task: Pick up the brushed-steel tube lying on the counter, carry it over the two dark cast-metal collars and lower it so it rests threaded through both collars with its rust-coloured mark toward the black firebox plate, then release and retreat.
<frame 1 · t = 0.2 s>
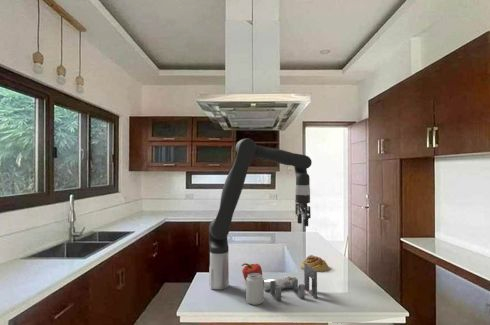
hand: (302, 224, 183), 28 cm above the worktop, fingers open, 8 cm apart
can: (254, 302, 154), on the worktop
vegetable: (251, 282, 179), on the worktop
collar 2: (298, 295, 162), on the worktop
pastry: (315, 269, 202), on the worktop
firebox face: (310, 293, 163), on the worktop
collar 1: (275, 297, 159), on the worktop
tube: (280, 289, 170), on the worktop
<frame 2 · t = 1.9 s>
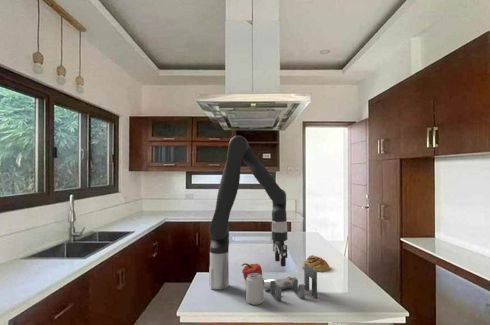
hand: (280, 263, 170), 12 cm above the worktop, fingers open, 8 cm apart
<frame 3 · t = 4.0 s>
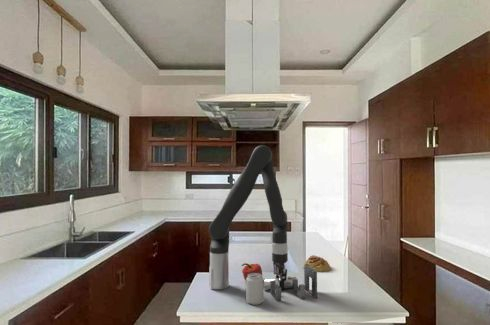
hand: (280, 286, 170), 1 cm above the worktop, fingers closed on tube, 5 cm apart
tube: (280, 288, 170), on the worktop, touching gripper
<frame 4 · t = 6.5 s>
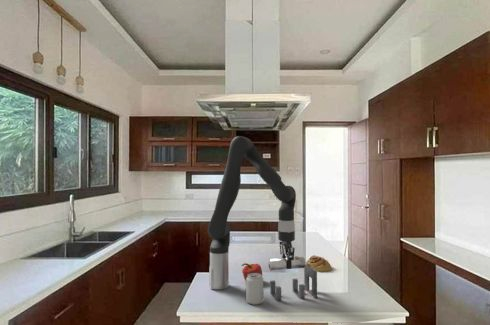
hand: (286, 266, 160), 13 cm above the worktop, fingers closed on tube, 5 cm apart
tube: (286, 269, 161), point 12 cm above the worktop, touching gripper
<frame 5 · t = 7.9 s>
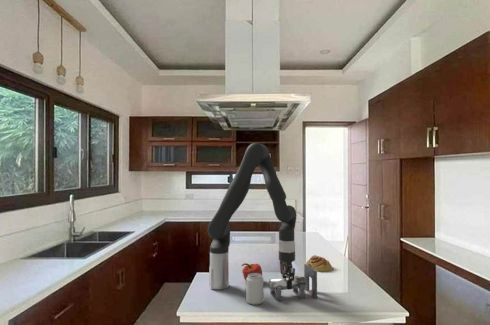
hand: (287, 286, 160), 4 cm above the worktop, fingers closed on tube, 5 cm apart
tube: (287, 289, 161), point 3 cm above the worktop, touching gripper
when the fingers open (3 cm above the worktop, at t = 9.0 s): tube drops 1 cm, resting on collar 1, collar 2.
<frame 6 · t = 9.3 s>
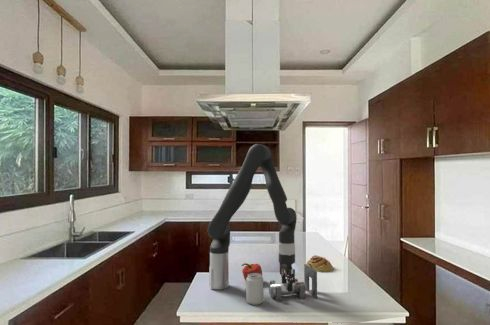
hand: (287, 288, 160), 4 cm above the worktop, fingers open, 7 cm apart
tube: (287, 294, 161), point 1 cm above the worktop, touching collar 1, collar 2
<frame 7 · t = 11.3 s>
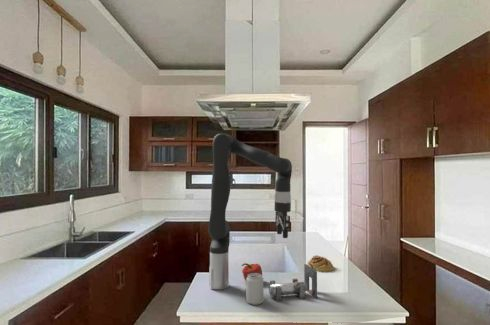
hand: (282, 235, 164), 27 cm above the worktop, fingers open, 8 cm apart
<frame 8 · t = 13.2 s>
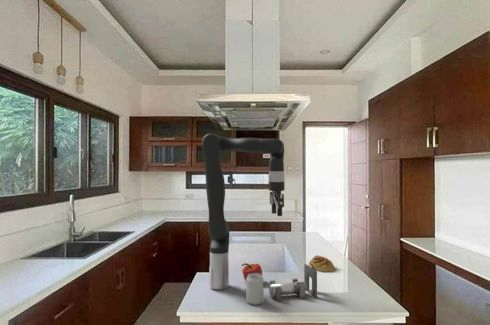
hand: (276, 214, 168), 36 cm above the worktop, fingers open, 8 cm apart
at the end: tube 0.1 cm from the target spot, point 0.8 cm above the worktop; the gripper is holding nothing; tube moved 9.9 cm from its start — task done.
